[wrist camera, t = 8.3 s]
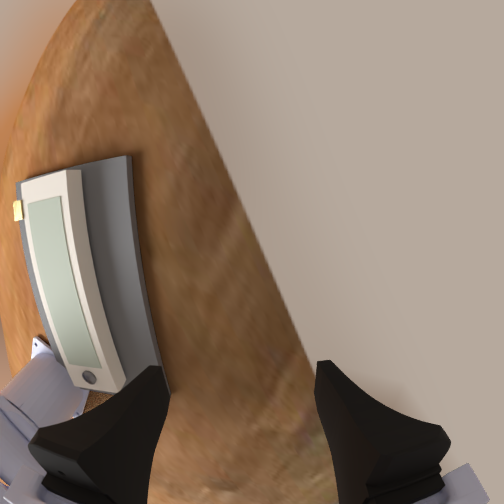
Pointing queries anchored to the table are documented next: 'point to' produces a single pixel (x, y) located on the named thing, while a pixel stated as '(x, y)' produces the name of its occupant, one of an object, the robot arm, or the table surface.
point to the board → (110, 263)
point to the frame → (70, 279)
